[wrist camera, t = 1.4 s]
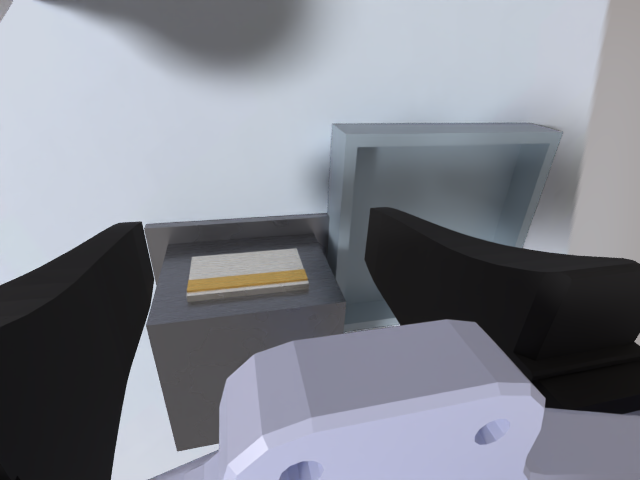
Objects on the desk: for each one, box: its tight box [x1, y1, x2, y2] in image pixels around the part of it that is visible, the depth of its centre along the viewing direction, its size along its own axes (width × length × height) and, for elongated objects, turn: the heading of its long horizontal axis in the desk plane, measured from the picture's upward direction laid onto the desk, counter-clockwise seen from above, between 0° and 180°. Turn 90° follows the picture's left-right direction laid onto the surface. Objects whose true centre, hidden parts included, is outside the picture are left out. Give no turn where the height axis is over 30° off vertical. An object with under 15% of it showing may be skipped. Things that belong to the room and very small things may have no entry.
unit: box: [144, 213, 346, 451], centre depth 19 cm, size 10×10×8 cm
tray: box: [327, 123, 563, 332], centre depth 22 cm, size 12×12×2 cm
